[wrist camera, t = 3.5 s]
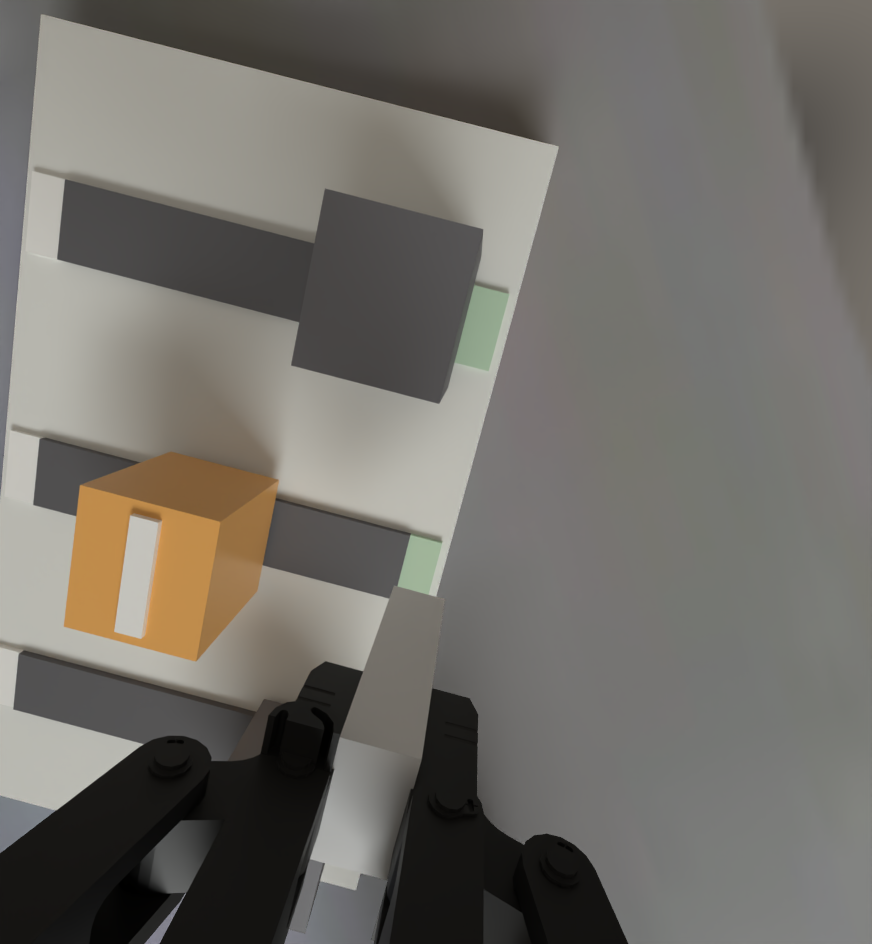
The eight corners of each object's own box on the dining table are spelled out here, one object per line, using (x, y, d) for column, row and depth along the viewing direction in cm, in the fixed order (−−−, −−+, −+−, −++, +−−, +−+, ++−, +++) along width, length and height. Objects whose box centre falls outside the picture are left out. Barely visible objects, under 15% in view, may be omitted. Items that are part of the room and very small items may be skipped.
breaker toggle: (154, 563, 22) (58, 630, 17) (170, 451, 21) (75, 486, 16) (257, 590, 22) (192, 665, 17) (279, 479, 21) (217, 524, 16)
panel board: (19, 750, 28) (-150, 901, 21) (90, 51, 21) (-122, -108, 14) (366, 842, 28) (325, 1029, 20) (549, 168, 21) (590, 73, 14)
